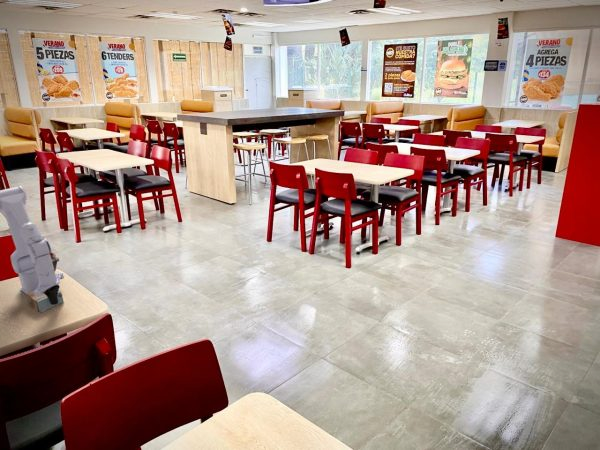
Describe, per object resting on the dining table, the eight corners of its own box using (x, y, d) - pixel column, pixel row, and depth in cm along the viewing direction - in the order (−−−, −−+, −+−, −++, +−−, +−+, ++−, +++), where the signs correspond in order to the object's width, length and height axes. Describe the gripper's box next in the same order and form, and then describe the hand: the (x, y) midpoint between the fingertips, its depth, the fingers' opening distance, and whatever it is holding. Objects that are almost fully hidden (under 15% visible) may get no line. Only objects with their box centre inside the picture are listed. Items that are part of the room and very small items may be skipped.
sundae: (48, 286, 188) (49, 253, 184) (37, 281, 190) (37, 248, 186) (62, 281, 194) (63, 249, 190) (51, 276, 196) (51, 244, 192)
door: (39, 311, 171) (36, 300, 169) (62, 301, 177) (59, 290, 175) (41, 312, 170) (38, 302, 168) (64, 302, 176) (61, 291, 174)
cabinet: (29, 304, 176) (25, 293, 174) (52, 294, 183) (49, 283, 181) (39, 312, 171) (35, 300, 169) (62, 301, 177) (59, 290, 175)
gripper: (42, 280, 160) (52, 314, 165) (67, 263, 174) (75, 294, 178) (24, 280, 161) (34, 313, 166) (50, 263, 174) (59, 294, 179)
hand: (54, 303), depth 172 cm, fingers closed, pressing on door
